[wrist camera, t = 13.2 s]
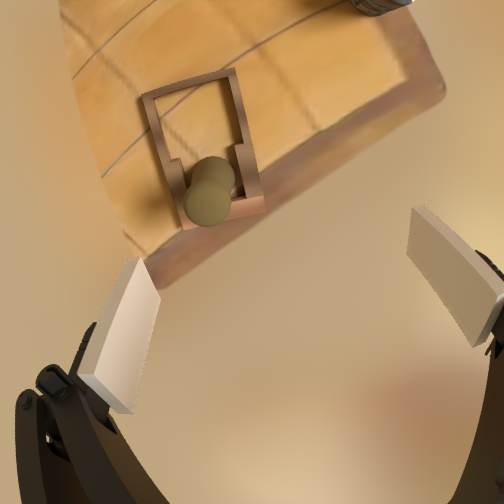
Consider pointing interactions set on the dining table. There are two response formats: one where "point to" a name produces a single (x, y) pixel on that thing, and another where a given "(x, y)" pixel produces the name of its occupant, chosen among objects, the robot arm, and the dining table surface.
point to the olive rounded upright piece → (209, 192)
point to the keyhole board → (244, 150)
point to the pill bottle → (378, 6)
